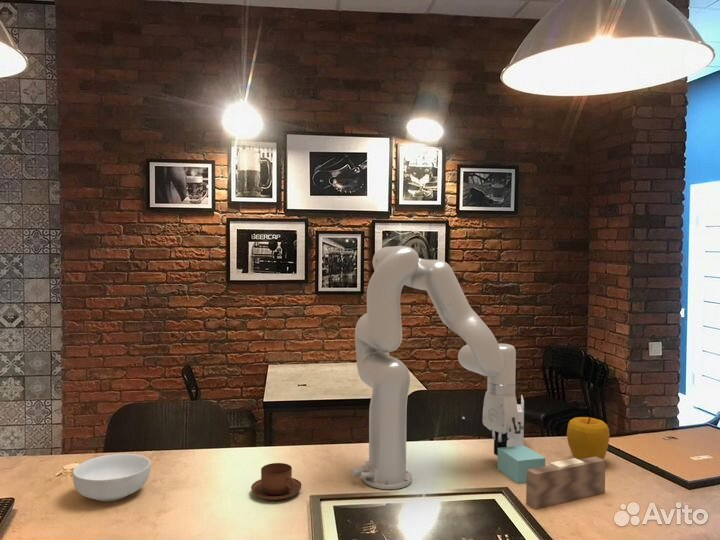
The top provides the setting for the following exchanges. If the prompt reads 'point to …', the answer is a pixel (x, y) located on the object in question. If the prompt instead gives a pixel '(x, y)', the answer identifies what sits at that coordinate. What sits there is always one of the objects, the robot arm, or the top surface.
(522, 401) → the ink box
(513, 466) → the teal block
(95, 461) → the cereal bowl
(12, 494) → the top surface
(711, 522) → the top surface
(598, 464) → the walnut box
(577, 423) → the apple
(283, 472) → the cup and saucer
